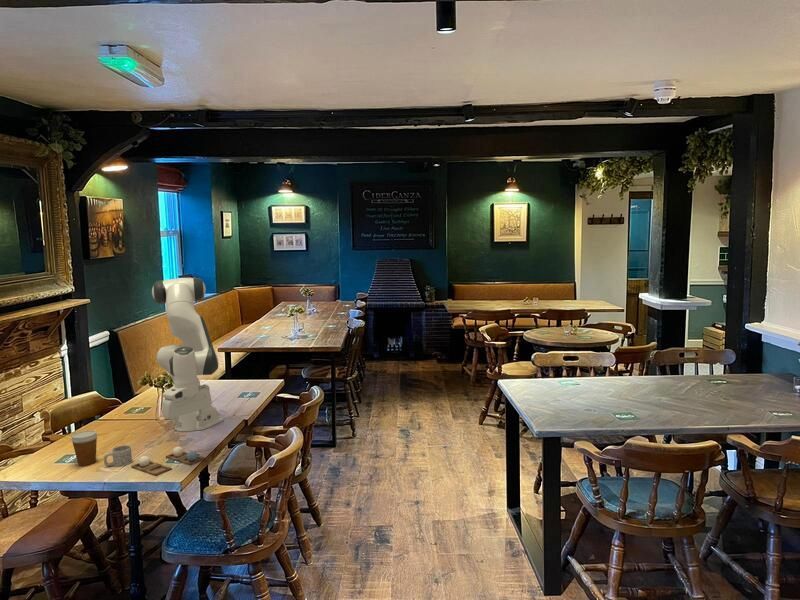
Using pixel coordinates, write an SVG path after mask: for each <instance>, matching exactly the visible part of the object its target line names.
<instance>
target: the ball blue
mask: <svg viewBox="0 0 800 600" xmlns="http://www.w3.org/2000/svg"><path fill="white" fill-rule="evenodd" d="M187 453H188V454H187V459H188V460H189V461H194V460H196V459H197V456H198V453H197V451H196V450H189V452H187Z"/></svg>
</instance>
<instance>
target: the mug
mask: <svg viewBox="0 0 800 600" xmlns="http://www.w3.org/2000/svg"><path fill="white" fill-rule="evenodd" d="M110 456H111V457H112V458H113V459H112V462H110V463H109V462H108V460H107V459H108V457H110ZM132 456H133V455H132V447H131V446H130V445H119V446H115V447H114V448H112V450H111V451H110V452H108V453H106V454H105V455H104V456H103V462H104V463H103V464H104V466H105V467H113V466H114V467H124V466H127V465H130V464H132V463H133V457H132Z"/></svg>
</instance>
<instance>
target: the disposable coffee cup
mask: <svg viewBox="0 0 800 600" xmlns="http://www.w3.org/2000/svg"><path fill="white" fill-rule="evenodd" d="M98 436H99V434H98V433H97V431H95V430H90V429H89V430H83V431H78V432H76V433H74V434H72V435H71V438H70V441H71V443H72V445H73V449H74V453H75V454H74V455H75V457H76V461H77V465H78V466H80V467H86V466H87V467H88V466H91V465H93V464H95V463H96V462H97V441H98V440H97V439H98Z"/></svg>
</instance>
